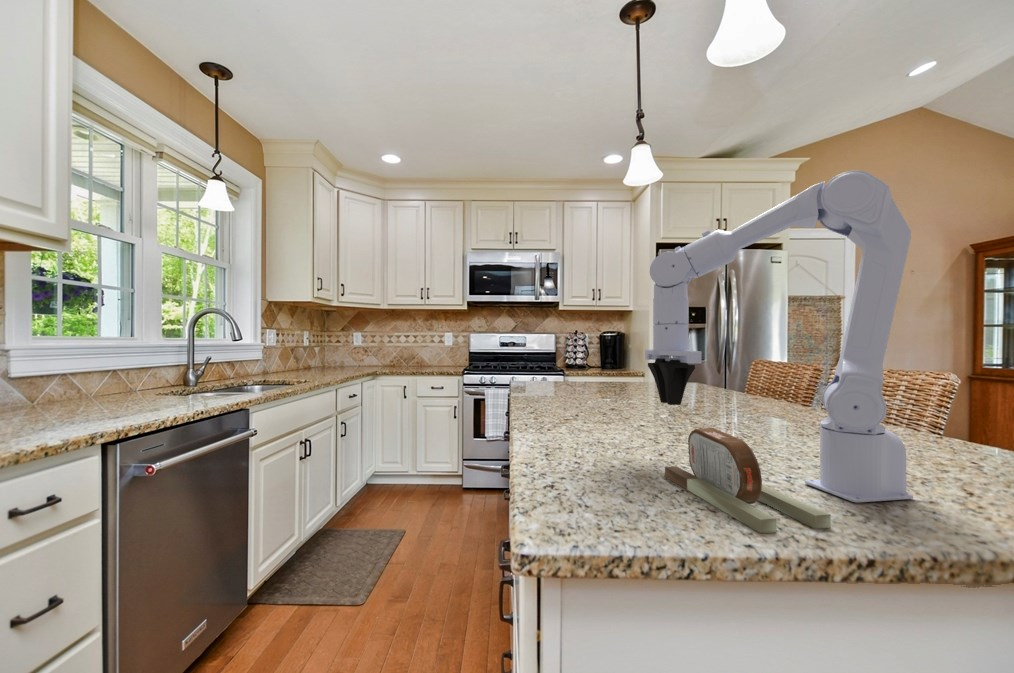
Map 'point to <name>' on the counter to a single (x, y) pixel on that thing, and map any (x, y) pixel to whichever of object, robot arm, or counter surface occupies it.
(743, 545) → the counter surface
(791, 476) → the counter surface
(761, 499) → the rail
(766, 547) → the counter surface
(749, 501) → the tin
